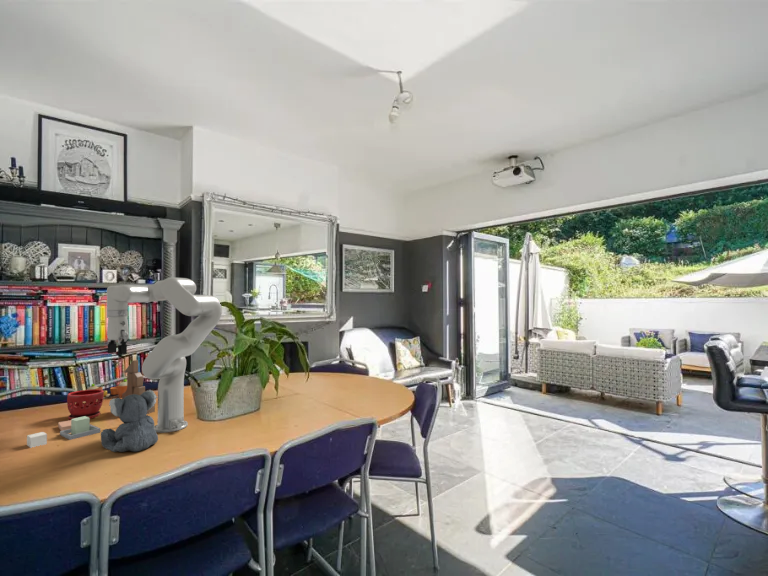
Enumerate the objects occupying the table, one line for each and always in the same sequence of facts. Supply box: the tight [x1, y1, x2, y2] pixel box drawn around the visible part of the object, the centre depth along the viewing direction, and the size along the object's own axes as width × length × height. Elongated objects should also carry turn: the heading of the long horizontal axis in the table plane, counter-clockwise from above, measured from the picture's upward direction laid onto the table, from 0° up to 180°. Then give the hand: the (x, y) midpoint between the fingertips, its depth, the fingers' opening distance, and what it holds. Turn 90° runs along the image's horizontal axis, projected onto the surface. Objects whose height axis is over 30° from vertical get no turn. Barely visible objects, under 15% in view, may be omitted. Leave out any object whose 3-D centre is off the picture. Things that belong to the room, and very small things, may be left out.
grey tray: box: [59, 423, 101, 441], centre depth 152 cm, size 10×10×2 cm
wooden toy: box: [121, 359, 156, 415], centre depth 182 cm, size 16×7×25 cm, turn 71°
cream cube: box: [26, 431, 48, 448], centre depth 140 cm, size 4×4×4 cm
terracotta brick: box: [57, 419, 71, 431], centre depth 158 cm, size 9×4×3 cm, turn 48°
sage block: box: [70, 416, 91, 435], centre depth 152 cm, size 4×4×6 cm
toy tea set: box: [87, 378, 127, 399], centre depth 214 cm, size 26×16×10 cm, turn 106°
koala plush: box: [100, 389, 159, 453], centre depth 140 cm, size 17×18×20 cm
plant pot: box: [66, 389, 105, 421], centre depth 174 cm, size 13×13×12 cm
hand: (117, 353), depth 166 cm, fingers open, 9 cm apart
